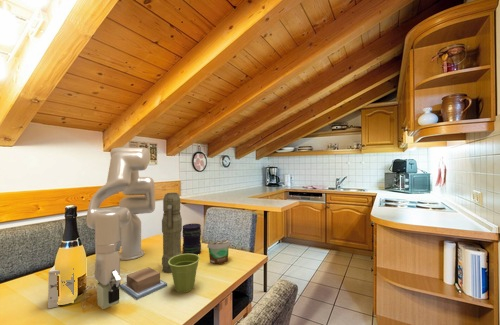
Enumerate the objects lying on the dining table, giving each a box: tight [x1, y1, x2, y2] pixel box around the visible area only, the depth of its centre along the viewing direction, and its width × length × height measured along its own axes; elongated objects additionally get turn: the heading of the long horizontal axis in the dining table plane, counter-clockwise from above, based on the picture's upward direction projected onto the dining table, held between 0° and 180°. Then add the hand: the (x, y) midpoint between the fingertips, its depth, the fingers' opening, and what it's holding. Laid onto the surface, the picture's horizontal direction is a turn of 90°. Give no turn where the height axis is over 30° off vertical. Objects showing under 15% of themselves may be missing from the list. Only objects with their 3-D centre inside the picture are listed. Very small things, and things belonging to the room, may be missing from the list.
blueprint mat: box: [120, 279, 168, 301], centre depth 91 cm, size 14×12×1 cm
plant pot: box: [168, 253, 201, 294], centre depth 89 cm, size 12×12×11 cm
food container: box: [206, 237, 231, 266], centre depth 113 cm, size 12×6×10 cm, turn 131°
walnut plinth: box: [126, 266, 161, 293], centre depth 91 cm, size 9×9×4 cm
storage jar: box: [181, 223, 202, 256], centre depth 126 cm, size 10×10×15 cm
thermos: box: [161, 192, 183, 274], centre depth 107 cm, size 9×12×35 cm
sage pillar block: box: [96, 279, 120, 310], centre depth 80 cm, size 5×5×7 cm
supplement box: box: [47, 264, 75, 309], centre depth 82 cm, size 7×7×13 cm
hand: (108, 296), depth 80 cm, fingers open, 9 cm apart
